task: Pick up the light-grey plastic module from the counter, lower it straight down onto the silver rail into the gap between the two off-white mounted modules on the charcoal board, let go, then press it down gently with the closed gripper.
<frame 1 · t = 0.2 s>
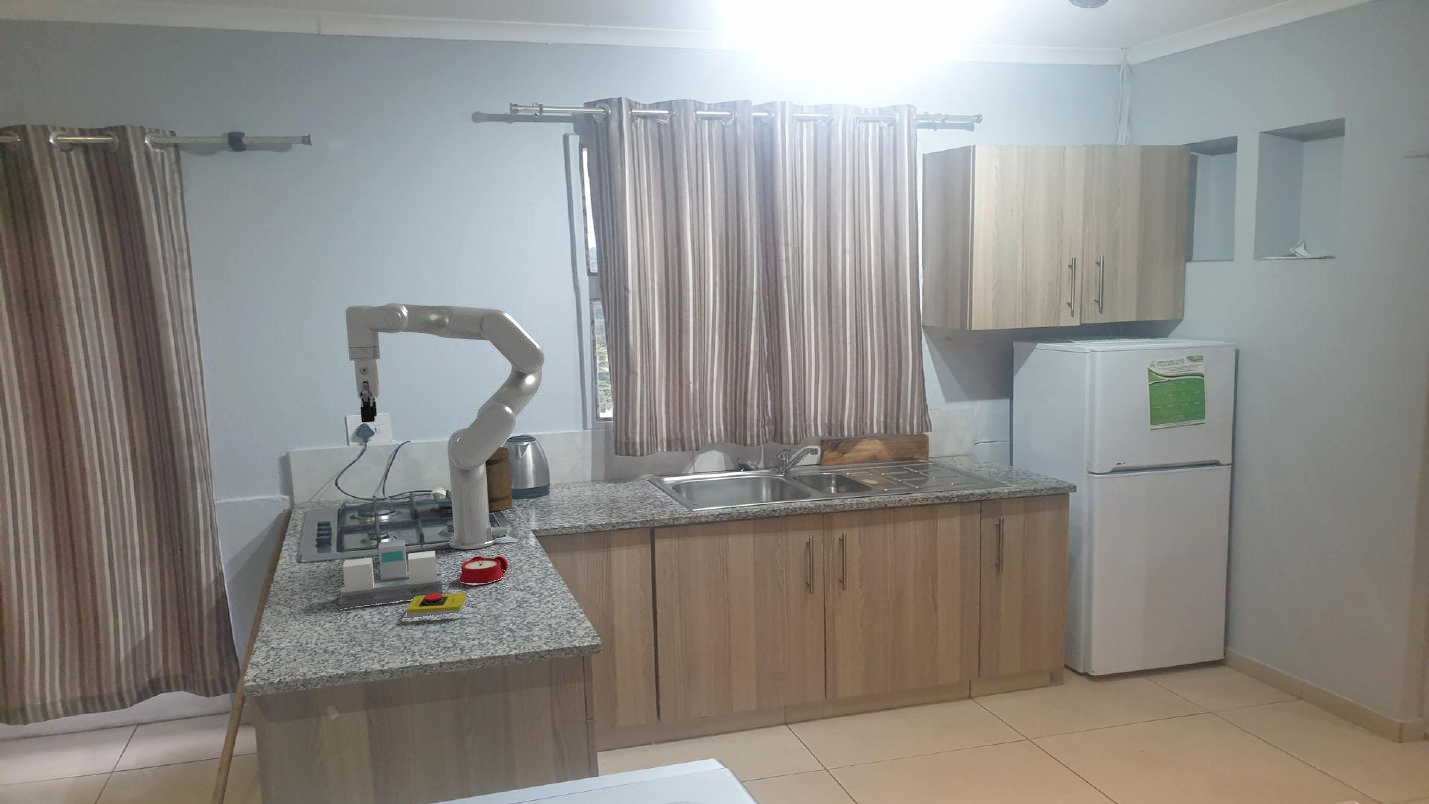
hand: (369, 419, 251), 36 cm above the worktop, tool pointing down, fingers open, 9 cm apart
mounted modules: (391, 571, 223), on the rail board, point 6 cm above the worktop
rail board: (392, 594, 224), on the worktop
emergency button: (439, 616, 211), on the worktop
module: (394, 575, 238), on the worktop
wooden container: (488, 507, 305), on the worktop
alarm clock: (484, 578, 235), on the worktop
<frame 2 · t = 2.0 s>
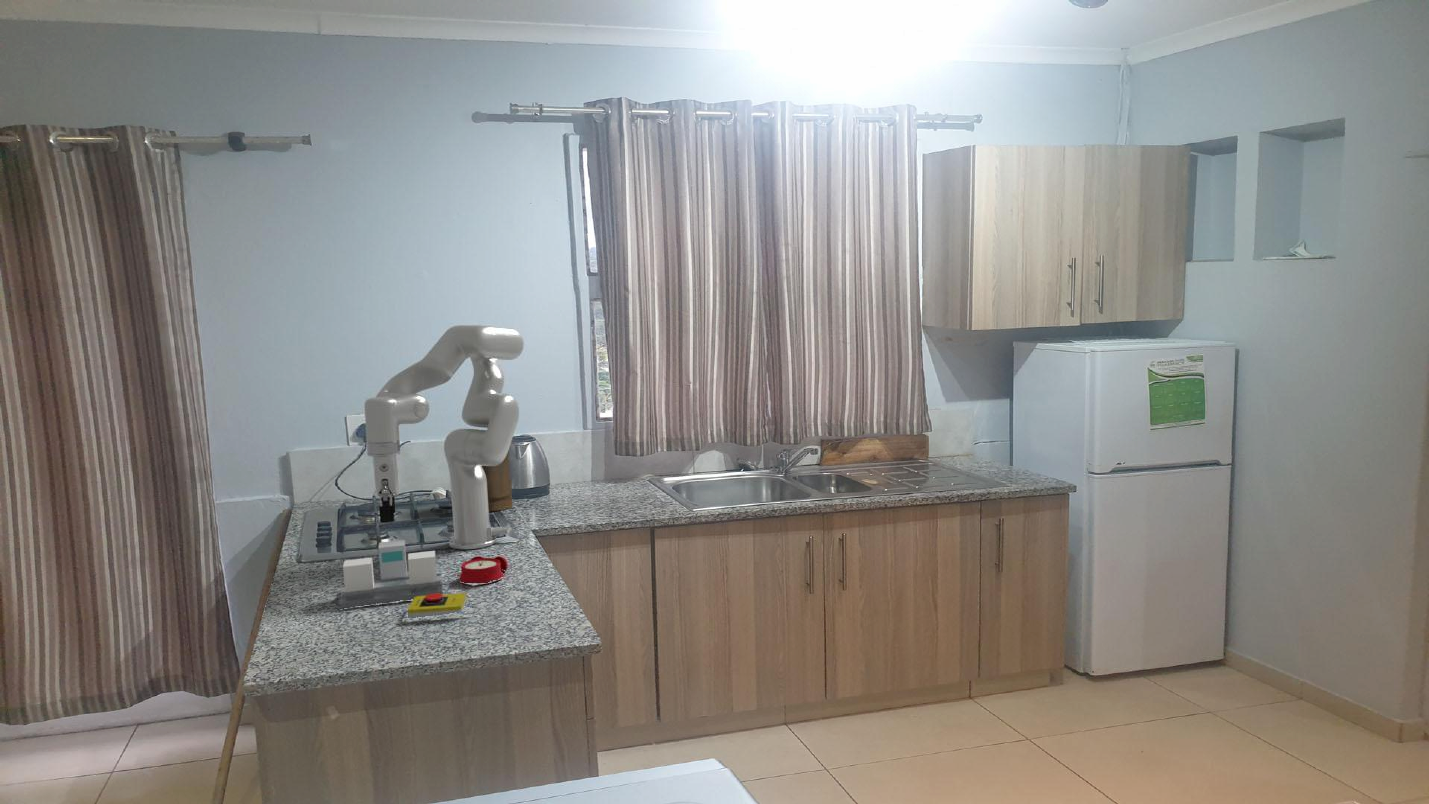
hand: (387, 517, 236), 15 cm above the worktop, tool pointing down, fingers open, 9 cm apart
nothing on the worktop moved.
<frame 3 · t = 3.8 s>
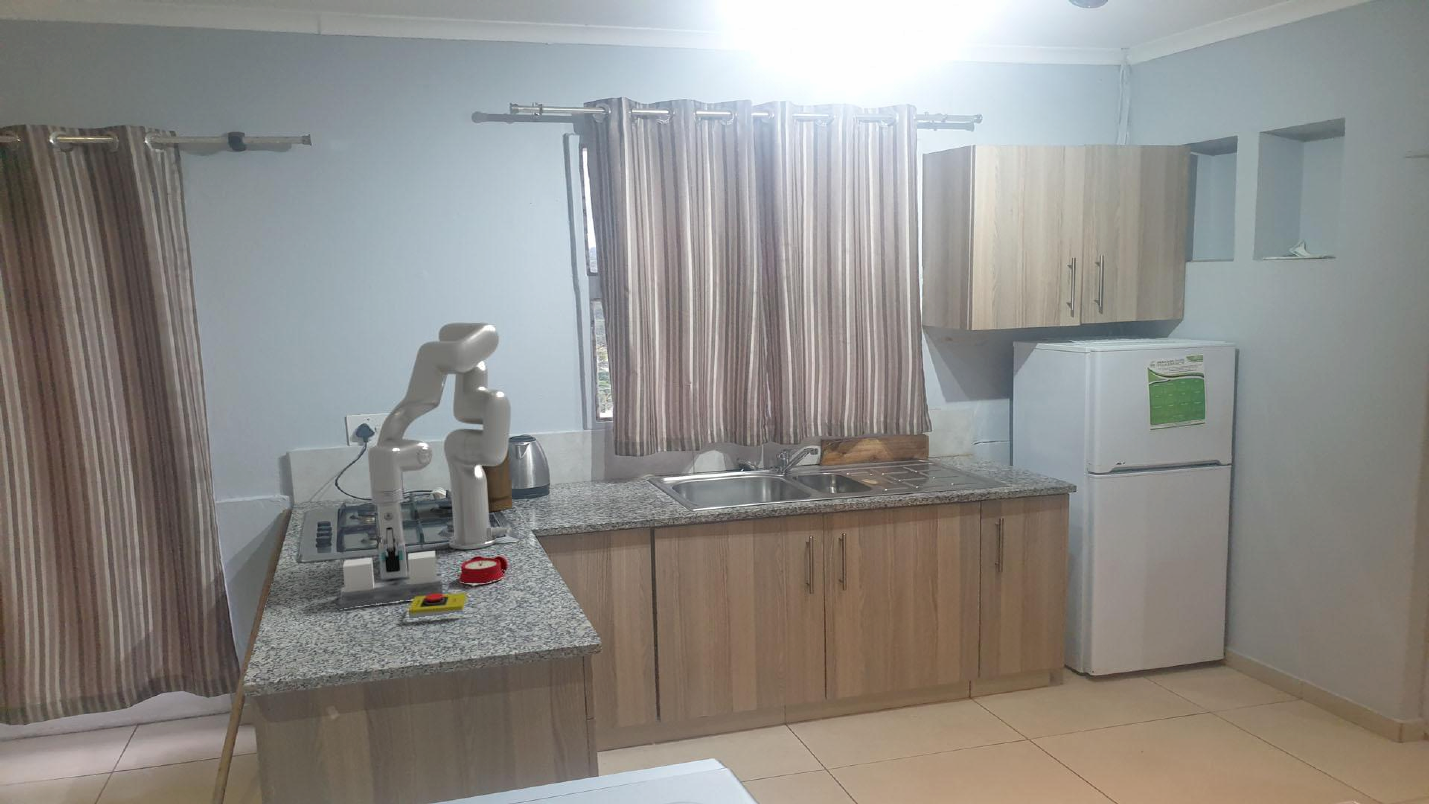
hand: (393, 567, 238), 2 cm above the worktop, tool pointing down, fingers closed on module, 5 cm apart
module: (394, 575, 238), on the worktop, touching gripper
everything else where it was.
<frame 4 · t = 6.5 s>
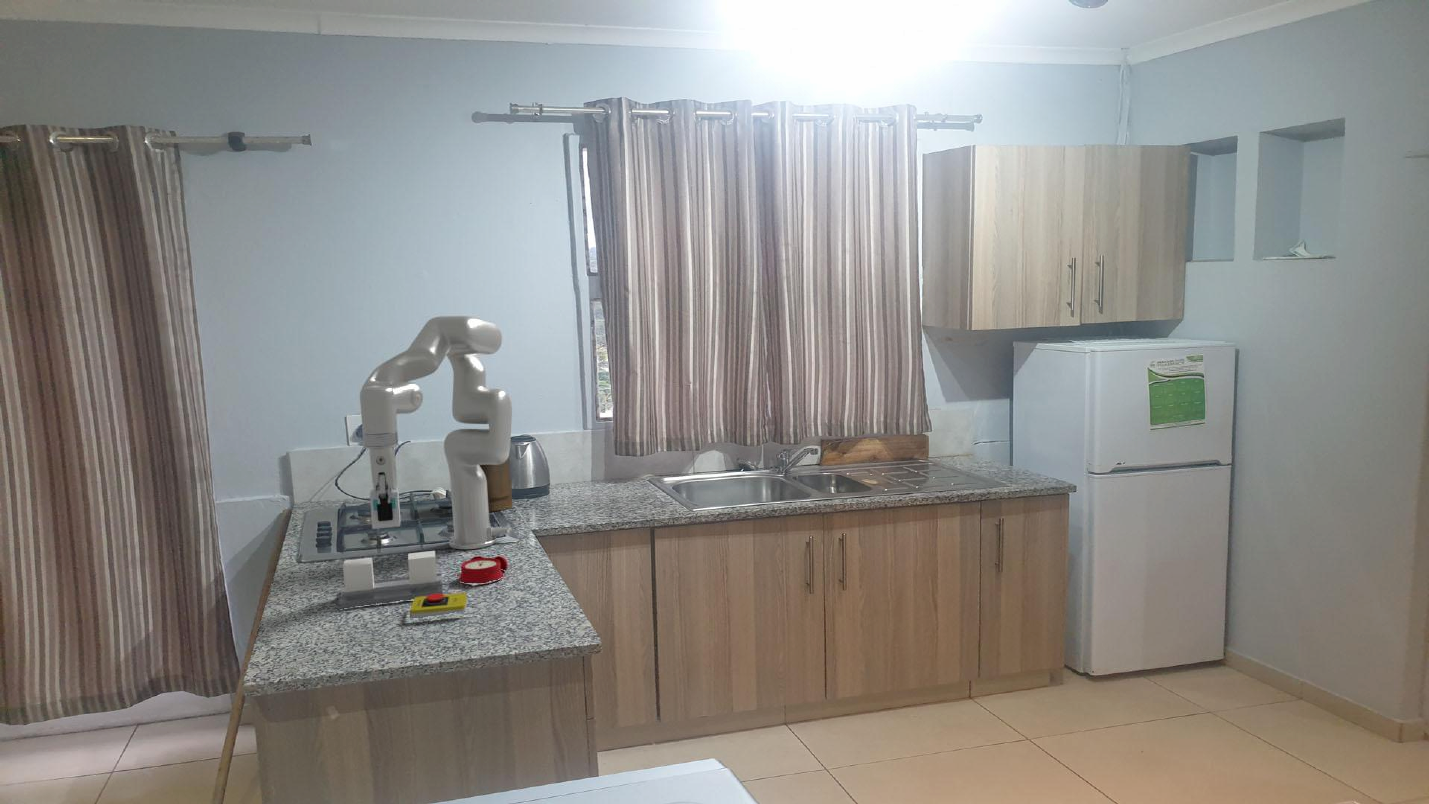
hand: (386, 516, 223), 18 cm above the worktop, tool pointing down, fingers closed on module, 5 cm apart
module: (386, 525, 223), point 16 cm above the worktop, touching gripper
everything else where it was.
when the fingers open (6 cm above the worktop, at t = 9.3 s): module drops 1 cm, resting on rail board.
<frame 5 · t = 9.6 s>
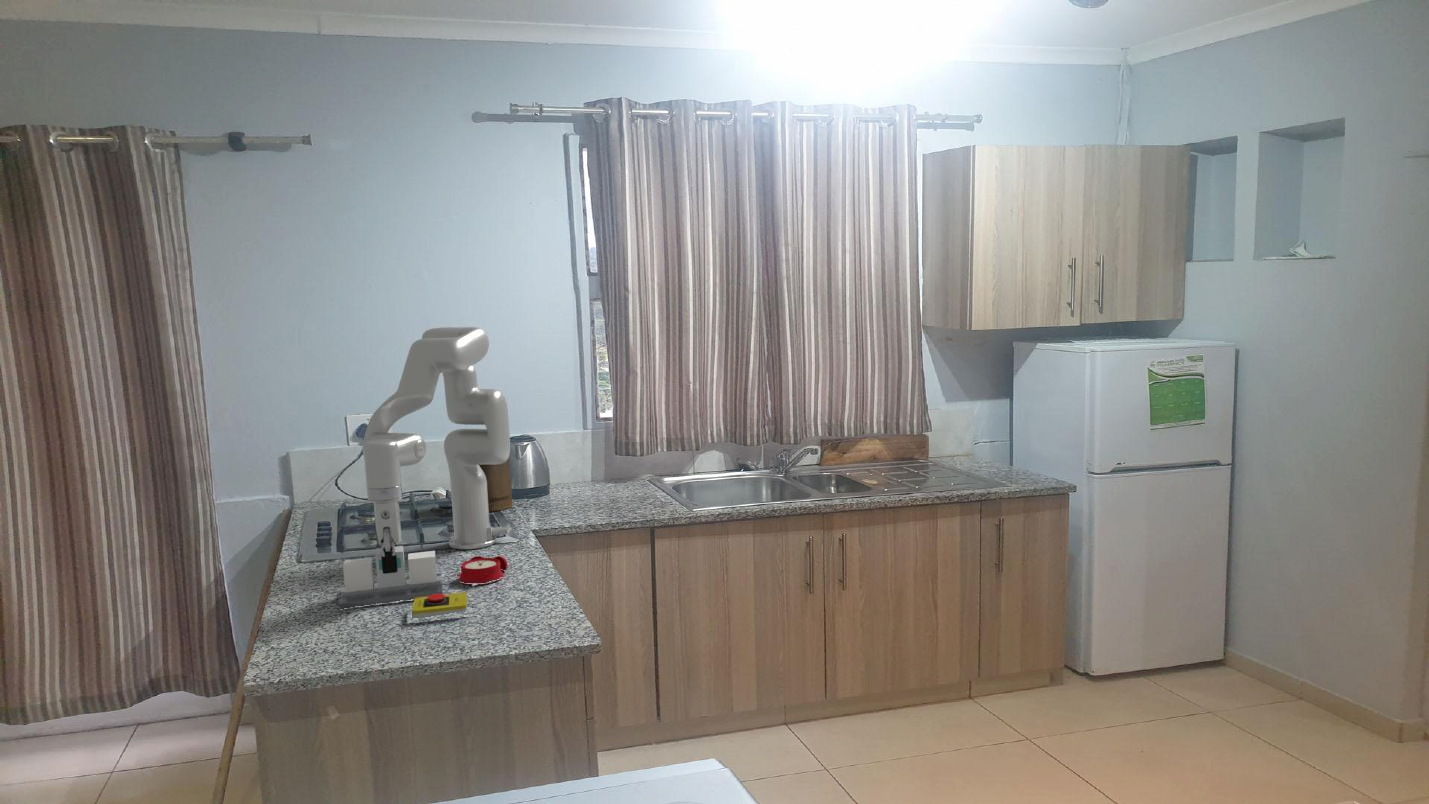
hand: (390, 566, 223), 7 cm above the worktop, tool pointing down, fingers open, 8 cm apart
module: (392, 583, 224), point 2 cm above the worktop, touching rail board
everything else where it was.
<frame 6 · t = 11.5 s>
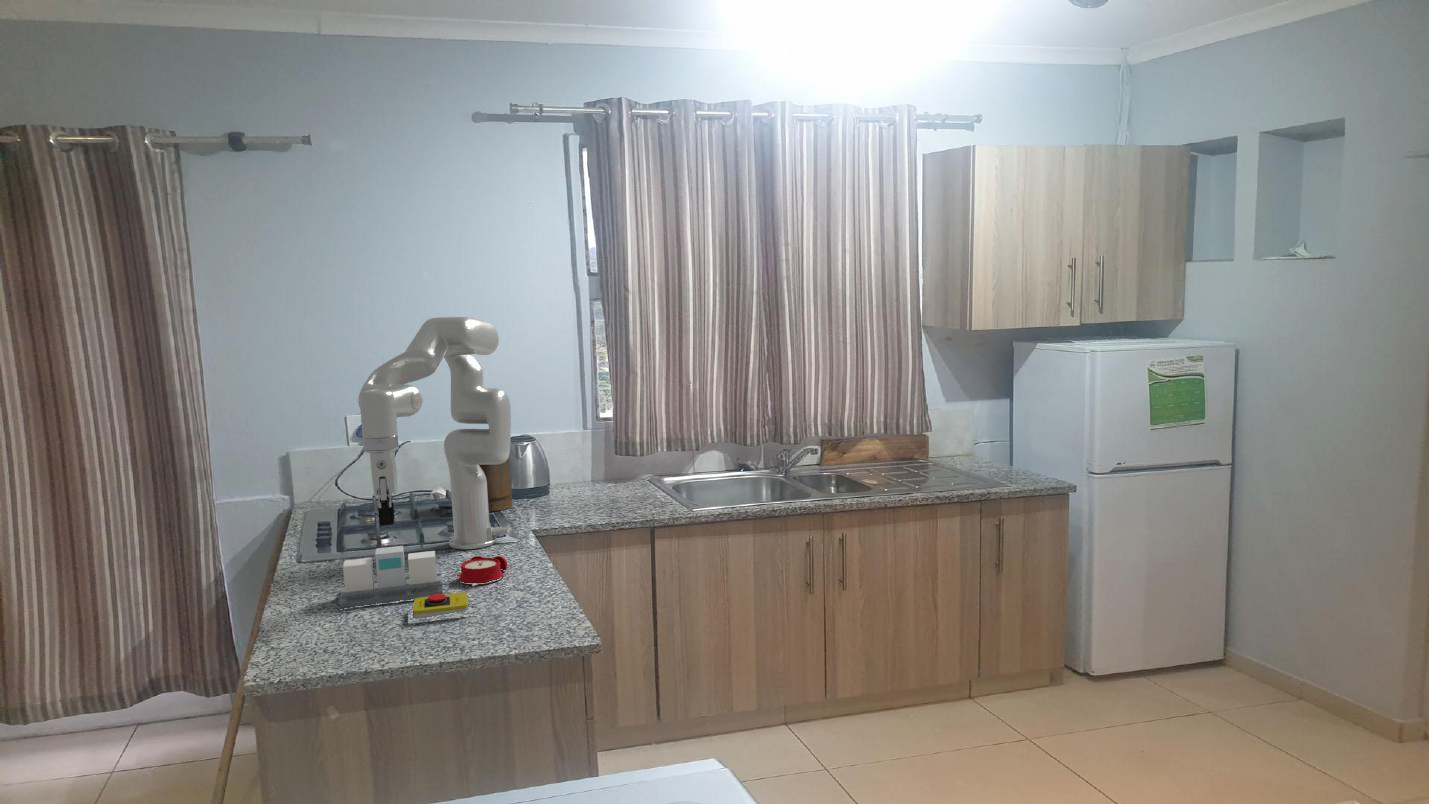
hand: (387, 521, 222), 17 cm above the worktop, tool pointing down, fingers open, 3 cm apart
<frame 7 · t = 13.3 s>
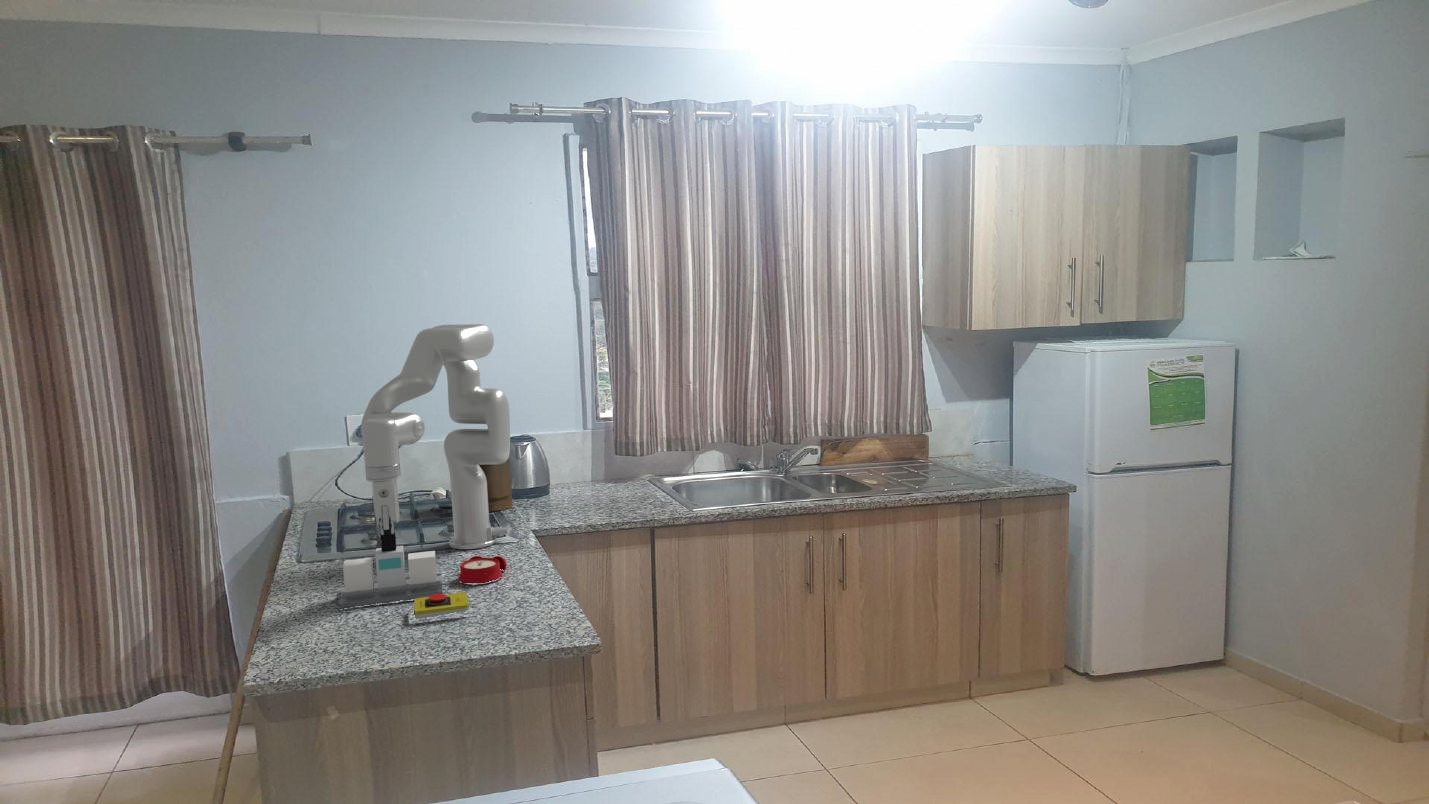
hand: (389, 550, 222), 11 cm above the worktop, tool pointing down, fingers closed
module: (392, 583, 224), point 3 cm above the worktop, touching gripper, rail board
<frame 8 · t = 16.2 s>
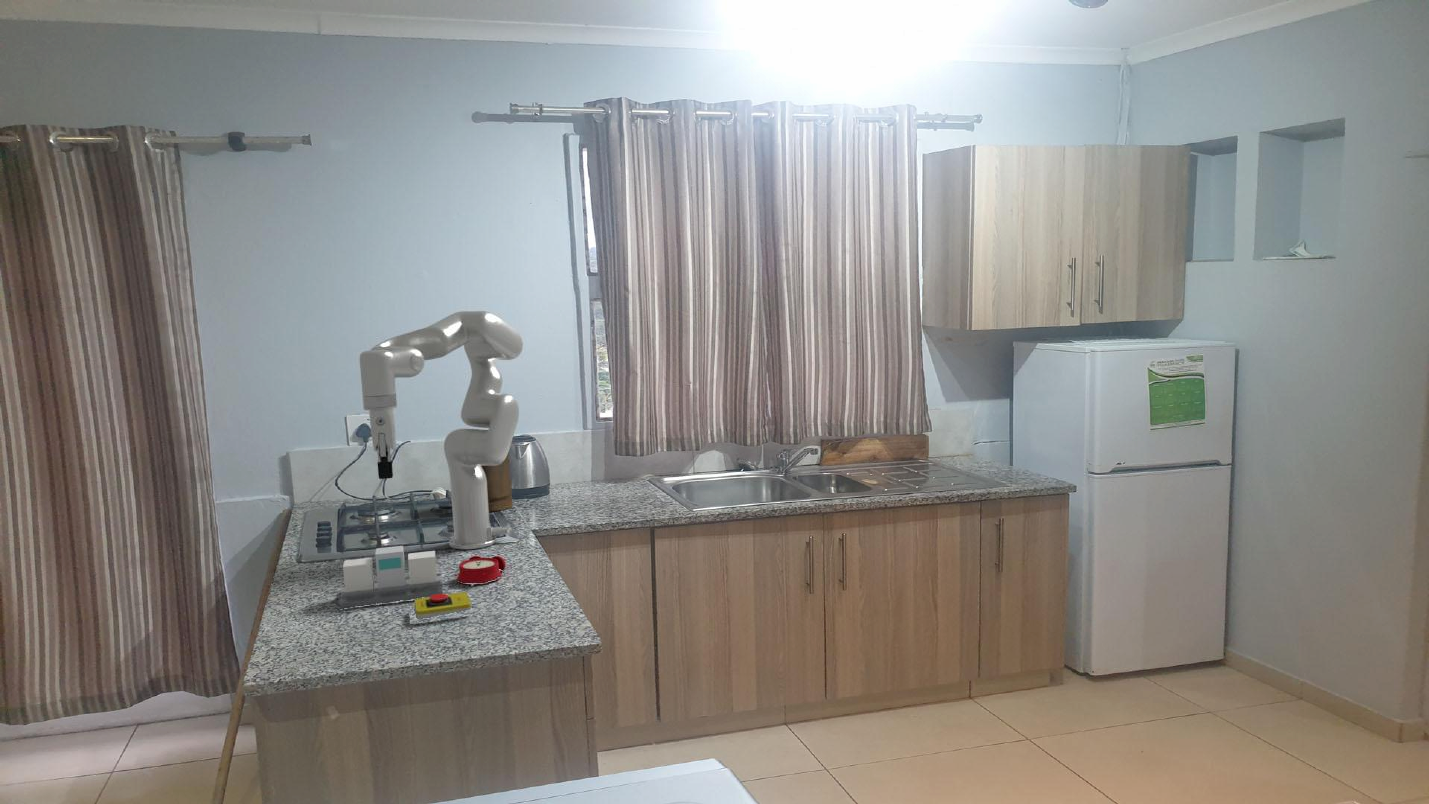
hand: (385, 477, 232), 25 cm above the worktop, tool pointing down, fingers closed
module: (392, 583, 224), point 2 cm above the worktop, touching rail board
at the end: module 0.1 cm off-centre on the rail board, point 2.5 cm above the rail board's base; module tilted 0°; the gripper is holding nothing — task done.
